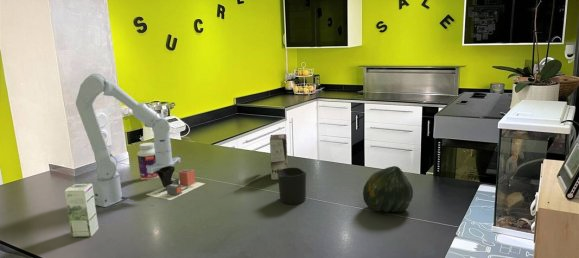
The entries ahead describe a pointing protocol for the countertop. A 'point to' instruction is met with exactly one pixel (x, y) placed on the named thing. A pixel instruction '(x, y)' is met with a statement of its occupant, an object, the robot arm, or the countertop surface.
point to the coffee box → (278, 154)
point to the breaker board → (163, 194)
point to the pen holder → (292, 185)
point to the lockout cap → (187, 177)
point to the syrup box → (81, 210)
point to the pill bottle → (146, 160)
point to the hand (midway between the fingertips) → (166, 186)
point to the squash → (388, 190)
